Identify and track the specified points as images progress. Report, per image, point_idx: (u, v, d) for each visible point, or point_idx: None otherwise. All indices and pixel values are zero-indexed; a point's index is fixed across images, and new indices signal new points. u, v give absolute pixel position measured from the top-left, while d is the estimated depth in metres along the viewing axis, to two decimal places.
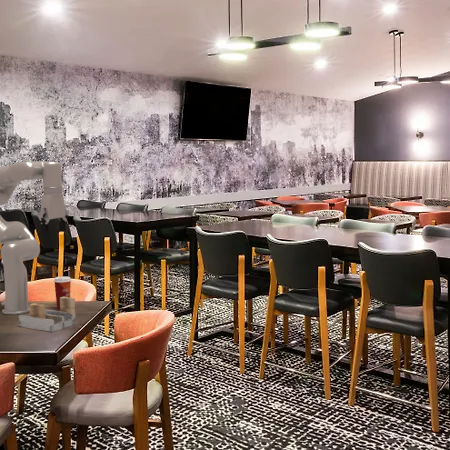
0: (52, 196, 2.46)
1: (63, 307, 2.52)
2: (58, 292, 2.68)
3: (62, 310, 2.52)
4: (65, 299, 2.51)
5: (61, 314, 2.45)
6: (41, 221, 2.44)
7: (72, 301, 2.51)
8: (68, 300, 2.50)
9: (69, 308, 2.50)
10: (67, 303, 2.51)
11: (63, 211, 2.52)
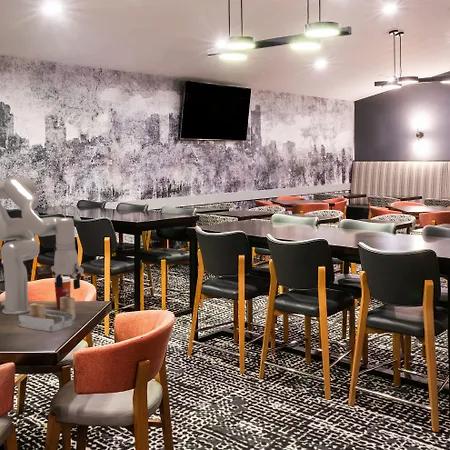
0: None
1: (63, 307, 2.52)
2: (58, 292, 2.68)
3: (62, 310, 2.52)
4: (65, 299, 2.51)
5: (61, 314, 2.45)
6: (79, 276, 2.47)
7: (72, 301, 2.51)
8: (68, 300, 2.50)
9: (69, 308, 2.50)
10: (67, 303, 2.51)
11: None
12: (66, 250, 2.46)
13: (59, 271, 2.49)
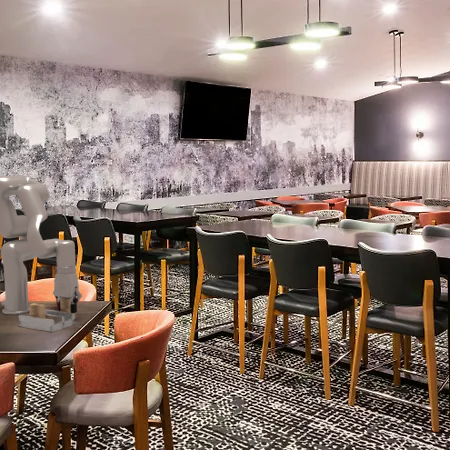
0: None
1: (63, 307, 2.52)
2: None
3: (62, 310, 2.52)
4: (65, 299, 2.51)
5: (61, 314, 2.45)
6: (76, 301, 2.49)
7: None
8: (68, 300, 2.50)
9: (69, 308, 2.50)
10: (67, 303, 2.51)
11: None
12: (66, 273, 2.47)
13: (59, 293, 2.50)
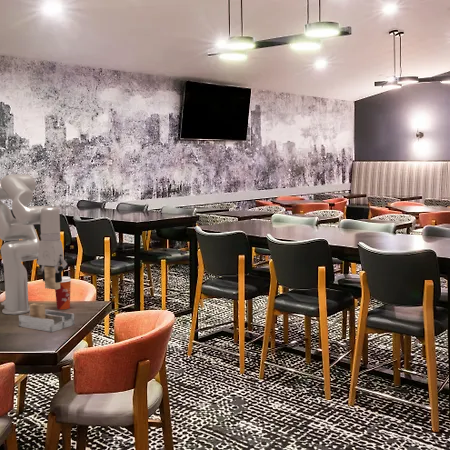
0: None
1: (47, 276, 2.43)
2: (58, 292, 2.68)
3: (46, 279, 2.44)
4: (50, 268, 2.42)
5: (61, 314, 2.45)
6: (61, 269, 2.41)
7: None
8: (53, 269, 2.42)
9: (54, 277, 2.42)
10: (52, 272, 2.42)
11: None
12: (51, 240, 2.39)
13: (43, 262, 2.42)
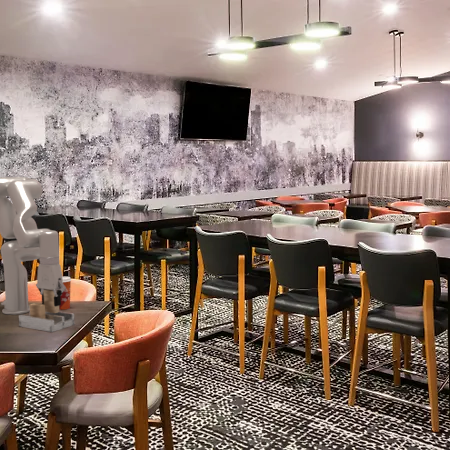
0: None
1: (47, 300, 2.43)
2: None
3: (46, 303, 2.44)
4: (49, 291, 2.42)
5: (61, 314, 2.45)
6: (60, 293, 2.41)
7: None
8: (52, 292, 2.42)
9: (53, 301, 2.42)
10: (51, 296, 2.42)
11: None
12: (50, 264, 2.39)
13: (42, 285, 2.42)
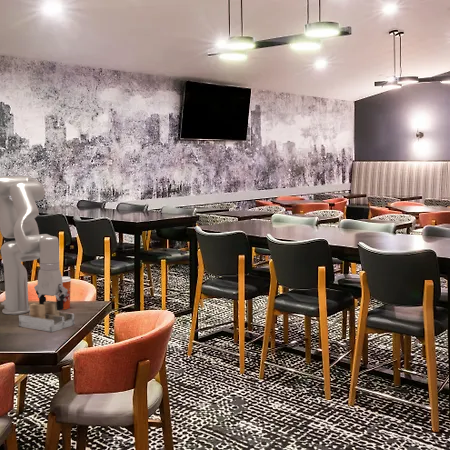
0: None
1: (47, 312, 2.44)
2: None
3: None
4: (49, 304, 2.43)
5: (61, 314, 2.45)
6: (63, 297, 2.40)
7: (56, 306, 2.43)
8: (52, 305, 2.42)
9: (53, 313, 2.42)
10: (51, 308, 2.43)
11: None
12: (50, 270, 2.39)
13: (42, 291, 2.42)
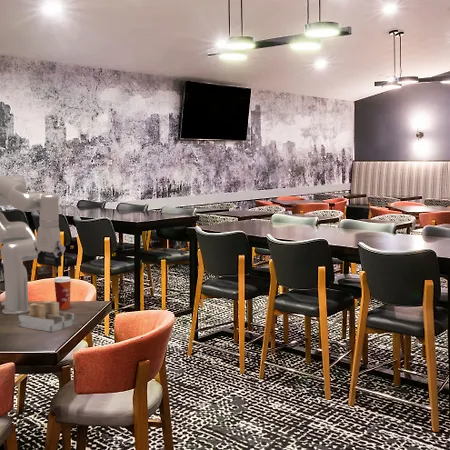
0: None
1: (47, 312, 2.44)
2: (58, 292, 2.68)
3: None
4: (49, 304, 2.43)
5: (61, 314, 2.45)
6: (61, 254, 2.45)
7: (56, 306, 2.43)
8: (52, 305, 2.42)
9: (53, 313, 2.42)
10: (51, 308, 2.43)
11: None
12: (49, 227, 2.43)
13: (40, 248, 2.47)
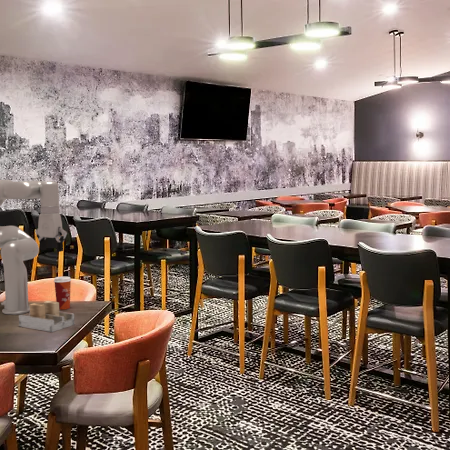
0: None
1: (47, 312, 2.44)
2: (58, 292, 2.68)
3: None
4: (49, 304, 2.43)
5: (61, 314, 2.45)
6: (62, 239, 2.51)
7: (56, 306, 2.43)
8: (52, 305, 2.42)
9: (53, 313, 2.42)
10: (51, 308, 2.43)
11: None
12: (50, 213, 2.50)
13: (42, 234, 2.53)
